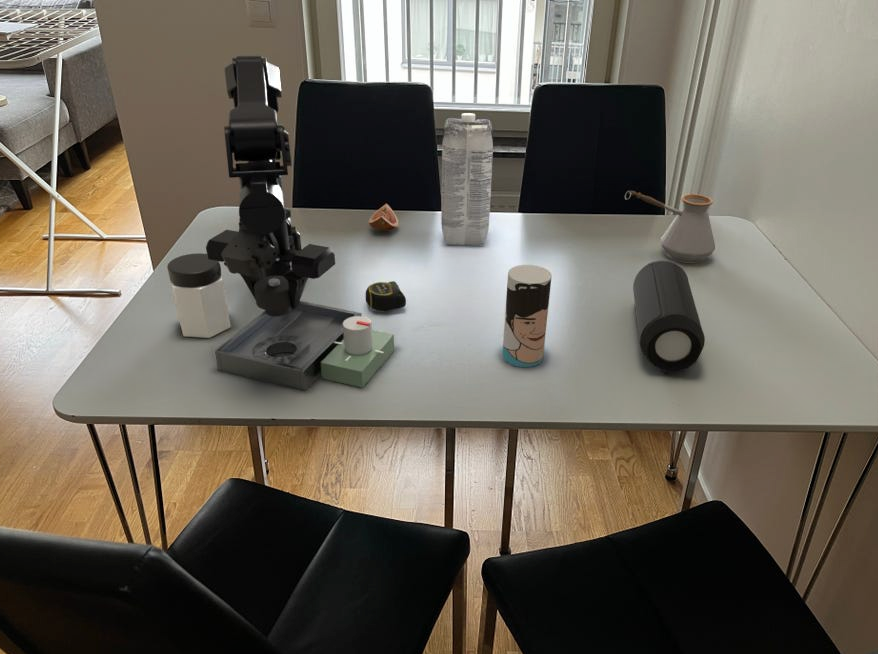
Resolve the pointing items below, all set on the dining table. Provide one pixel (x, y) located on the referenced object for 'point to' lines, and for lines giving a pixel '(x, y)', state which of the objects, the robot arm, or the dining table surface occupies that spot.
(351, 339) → the tap knob
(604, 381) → the dining table surface
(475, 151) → the juice carton
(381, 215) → the fruit slice
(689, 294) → the portable speaker
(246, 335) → the grey metal tray
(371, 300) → the tape measure
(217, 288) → the jar
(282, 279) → the stopper
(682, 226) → the coffee pot
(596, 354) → the dining table surface
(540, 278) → the cup
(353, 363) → the panel
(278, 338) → the sink
